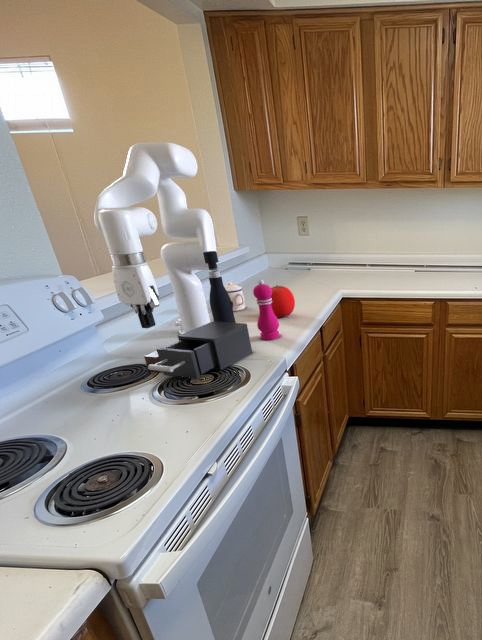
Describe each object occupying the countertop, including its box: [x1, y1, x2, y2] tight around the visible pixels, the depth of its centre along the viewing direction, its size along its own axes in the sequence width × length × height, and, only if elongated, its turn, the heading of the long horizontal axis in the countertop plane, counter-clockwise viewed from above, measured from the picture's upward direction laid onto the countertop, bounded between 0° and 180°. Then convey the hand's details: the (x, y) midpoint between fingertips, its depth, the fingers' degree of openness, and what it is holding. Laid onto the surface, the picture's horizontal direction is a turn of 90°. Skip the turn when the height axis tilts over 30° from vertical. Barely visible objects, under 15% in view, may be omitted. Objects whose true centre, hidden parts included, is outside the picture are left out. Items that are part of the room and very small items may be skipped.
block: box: [143, 350, 162, 373], centre depth 121 cm, size 4×4×4 cm
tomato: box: [270, 284, 296, 318], centre depth 167 cm, size 12×12×13 cm
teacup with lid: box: [224, 281, 246, 312], centre depth 179 cm, size 12×9×12 cm
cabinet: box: [177, 320, 253, 372], centre depth 125 cm, size 15×13×10 cm
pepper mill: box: [252, 279, 280, 341], centre depth 141 cm, size 7×7×20 cm
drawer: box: [147, 339, 218, 380], centre depth 115 cm, size 19×11×8 cm, turn 163°
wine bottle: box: [203, 251, 236, 323], centre depth 134 cm, size 6×6×30 cm
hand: (149, 326), depth 117 cm, fingers closed
